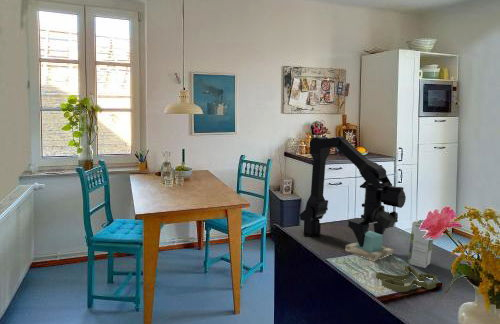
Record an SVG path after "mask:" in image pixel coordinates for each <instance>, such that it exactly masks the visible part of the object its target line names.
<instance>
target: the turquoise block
mask: <svg viewBox="0 0 500 324" xmlns="http://www.w3.org/2000/svg"><path fill="white" fill-rule="evenodd" d="M383 242H384V234H383V235H381V234H378V233H375V231H372V230H369V231H368V232H367V233H366V234H365V239H364V245H363V247H360V246H359V243H358V244H357V247H358V248H361V249H363V250H366V251H368V252H371V253H373V252H376V251H380V250H382V245H383Z"/></svg>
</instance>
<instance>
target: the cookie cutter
mask: <svg viewBox="0 0 500 324" xmlns="http://www.w3.org/2000/svg"><path fill="white" fill-rule="evenodd" d="M405 271H406V272H407V273H406V272H405ZM409 271H410V272H409ZM404 272H405V274H401V275H398V274H388V273H384V272H380V271H379V272H376V274H375V279H377V280H379V279H380V280H379V281H381V287H383V286H384V287H383V288H385V287H386V289H388V288H389V289H388V290H390V289H392V290H391V291H394V290H395V291H394V292H399V291H401V293H405V292H410V291H411V290H410V289H412V288H413V286H414V285H413V284H416V285H418V286H421V287H424V288H423V289H426V290H432V289H435V288H436V287H437V285H436V284H437V283H438V279H437V277H438V276H437V275H434V274H430V273H419V272H417V270H415V269H414V268H412V267H411V265H405V266H404ZM411 272H412V273H413V274H414V275H415V276H416V277H417V278H416V277H415V276H414V275H413V274H412V273H411ZM410 273H411V274H412V275H413V276H414V277H415V278H416V279H411V282H410V284H408V285H405V284H406V281H405V280H404V279H406V280H408V279H409V276H410ZM426 277H428V278H433V280H434V281H435V282H433V280H432V283H431V282H430V283H429V282H425V280H426V279H425V278H426ZM407 278H408V279H407ZM417 279H418V280H419V281H424V282H419V281H417ZM402 280H403V281H402ZM412 285H413V286H412ZM416 285H415V286H416ZM411 287H412V288H411Z"/></svg>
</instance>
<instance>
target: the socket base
mask: <svg viewBox="0 0 500 324" xmlns="http://www.w3.org/2000/svg"><path fill="white" fill-rule="evenodd" d="M357 244H358V241H357V242H356V241H355V242H352V243H350V244H349V243H348V244H345V249H344V250H345V252H348V253H350V254H353V255H354V256H355V255H356V256H358V255H360V256H363V257H365V258H368V259H370V260H372V261H373V262H375V261H374V260H376V261H378V260H377V259H379V258H382V257H384V256H387V255H391V254H392V256H394V254H395V249H394V248H392V247H388V246H385V245H383V244H382V250H380V251H376V252H373V253H371V252H368V251H366V250H363V249H361V248H358V247H357ZM360 256H359V257H360ZM363 257H362V258H363ZM365 258H364V259H365ZM368 259H367V260H368ZM382 259H383V258H382ZM370 260H369V261H370ZM379 260H380V259H379ZM372 261H371V262H372Z"/></svg>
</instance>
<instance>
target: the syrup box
mask: <svg viewBox="0 0 500 324" xmlns="http://www.w3.org/2000/svg"><path fill="white" fill-rule="evenodd" d="M424 220H425V219H419V218H418V219H416V220H415V221H413V222H412V223H411V225H412V226H411V231H410V232H411V233H410V240H409V241H410V242H409V250H408V258H407V259H408V260H407V264H409V265H410V266H411V265H412V266H416V267H419V268H424V269H427V267H429V265H430V264H431V261H432V251H433V245H434V244H433V243H434V239H433V240H425V239H423V238H422V237H423V236H424V235H425V233H426V231H420V230H419V227H420V225H421V223H422V222H423V221H424Z"/></svg>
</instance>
